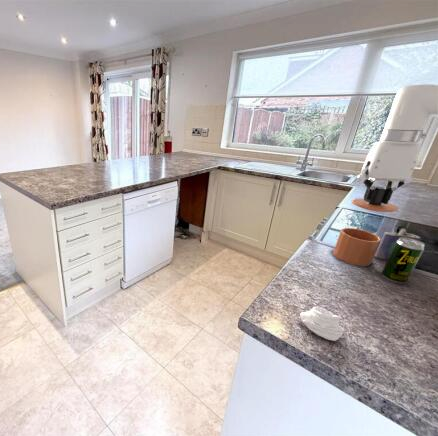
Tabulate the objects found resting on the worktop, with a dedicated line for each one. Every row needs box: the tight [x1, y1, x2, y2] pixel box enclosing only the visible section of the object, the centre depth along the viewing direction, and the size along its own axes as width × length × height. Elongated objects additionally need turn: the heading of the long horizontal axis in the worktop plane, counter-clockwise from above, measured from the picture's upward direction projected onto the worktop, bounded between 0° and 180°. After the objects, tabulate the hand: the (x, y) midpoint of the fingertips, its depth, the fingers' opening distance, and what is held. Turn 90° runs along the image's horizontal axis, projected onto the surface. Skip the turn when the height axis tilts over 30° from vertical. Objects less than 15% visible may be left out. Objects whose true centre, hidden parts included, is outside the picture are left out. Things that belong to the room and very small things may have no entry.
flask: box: [374, 228, 422, 261], centre depth 78 cm, size 9×3×11 cm, turn 74°
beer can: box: [381, 237, 426, 285], centre depth 68 cm, size 5×5×12 cm
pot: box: [333, 227, 382, 267], centre depth 79 cm, size 10×10×8 cm
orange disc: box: [351, 185, 399, 213], centre depth 72 cm, size 11×11×6 cm
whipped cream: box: [299, 306, 346, 342], centre depth 53 cm, size 8×7×5 cm
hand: (375, 201), depth 73 cm, fingers closed on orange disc, 3 cm apart
